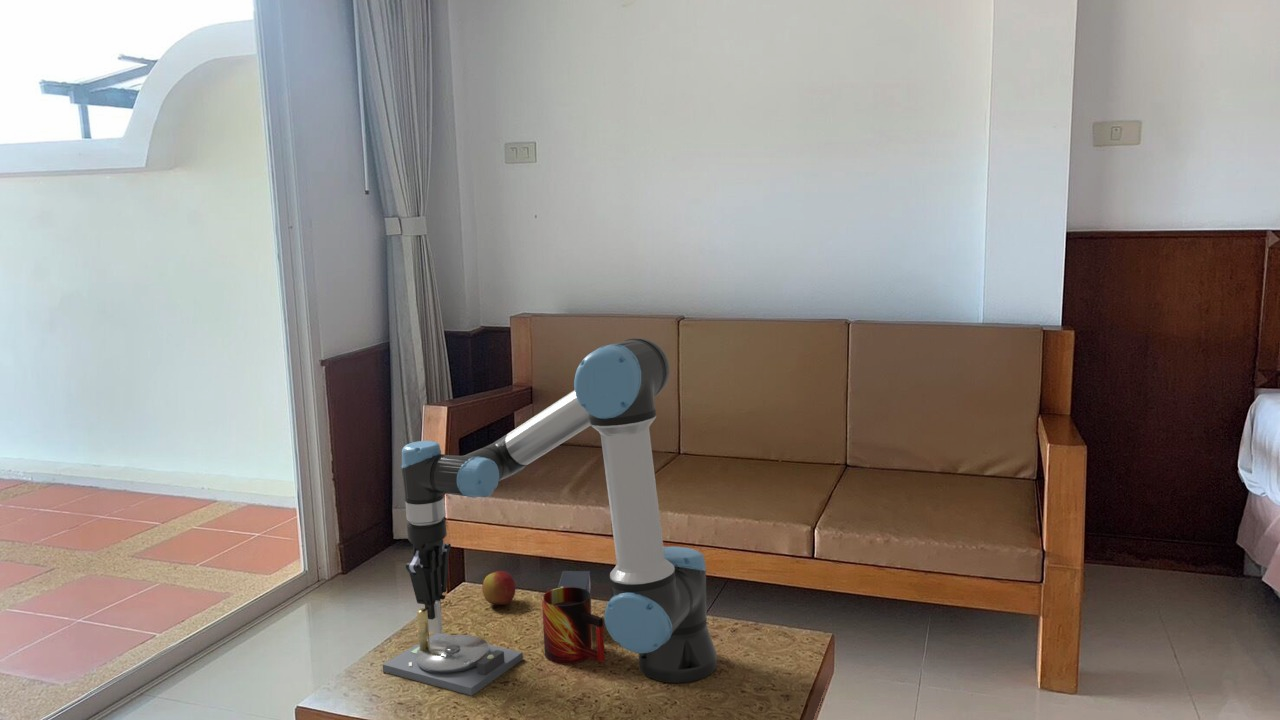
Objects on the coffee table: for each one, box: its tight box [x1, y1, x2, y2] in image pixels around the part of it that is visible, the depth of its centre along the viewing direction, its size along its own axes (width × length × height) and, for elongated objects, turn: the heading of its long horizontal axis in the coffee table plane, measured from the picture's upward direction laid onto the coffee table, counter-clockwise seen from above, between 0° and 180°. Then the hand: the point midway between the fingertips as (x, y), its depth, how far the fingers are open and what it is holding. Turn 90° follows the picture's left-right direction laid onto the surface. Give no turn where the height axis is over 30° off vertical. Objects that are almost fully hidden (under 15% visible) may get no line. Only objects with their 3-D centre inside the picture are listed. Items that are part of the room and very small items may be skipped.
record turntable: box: [382, 632, 524, 697], centre depth 183 cm, size 22×16×4 cm
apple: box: [481, 570, 516, 606], centre depth 211 cm, size 8×8×8 cm
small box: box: [557, 570, 592, 603], centre depth 199 cm, size 11×6×10 cm, turn 179°
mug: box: [541, 587, 606, 665], centre depth 185 cm, size 10×14×12 cm
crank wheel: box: [416, 607, 489, 673], centre depth 182 cm, size 14×14×9 cm
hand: (434, 631), depth 187 cm, fingers closed
